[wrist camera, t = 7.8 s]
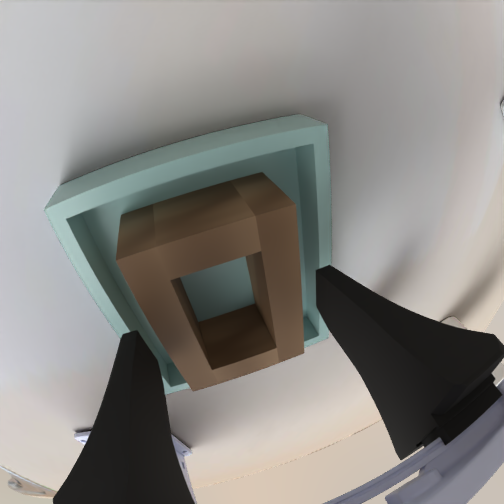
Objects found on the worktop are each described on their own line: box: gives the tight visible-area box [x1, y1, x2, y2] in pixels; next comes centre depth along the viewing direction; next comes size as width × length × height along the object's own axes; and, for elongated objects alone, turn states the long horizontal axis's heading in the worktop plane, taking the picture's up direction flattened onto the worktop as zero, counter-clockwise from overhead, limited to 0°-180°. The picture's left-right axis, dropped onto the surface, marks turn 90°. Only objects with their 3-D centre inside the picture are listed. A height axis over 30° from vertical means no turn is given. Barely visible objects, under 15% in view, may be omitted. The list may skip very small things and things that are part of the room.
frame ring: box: [116, 172, 304, 391], centre depth 12 cm, size 6×8×3 cm
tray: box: [44, 114, 332, 395], centre depth 13 cm, size 12×10×2 cm
